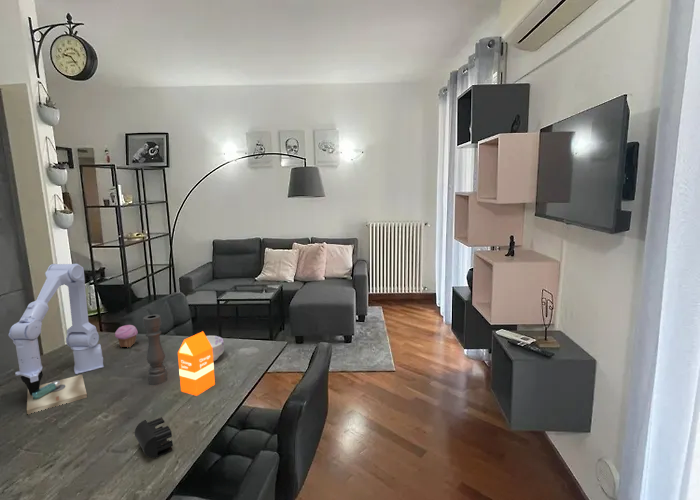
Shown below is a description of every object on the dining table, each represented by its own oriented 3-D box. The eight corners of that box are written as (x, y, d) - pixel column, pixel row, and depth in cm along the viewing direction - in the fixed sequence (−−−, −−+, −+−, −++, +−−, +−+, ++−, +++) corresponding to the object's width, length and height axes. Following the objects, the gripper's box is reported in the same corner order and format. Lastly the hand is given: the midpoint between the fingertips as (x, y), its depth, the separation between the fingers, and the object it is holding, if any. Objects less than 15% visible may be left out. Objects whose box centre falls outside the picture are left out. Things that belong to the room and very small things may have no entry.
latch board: (82, 378, 148) (82, 373, 148) (87, 397, 134) (86, 393, 134) (28, 392, 138) (27, 387, 138) (27, 414, 124) (26, 409, 124)
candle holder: (171, 378, 147) (165, 315, 143) (158, 386, 141) (151, 320, 137) (158, 375, 149) (152, 313, 145) (145, 383, 143) (138, 318, 139)
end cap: (135, 445, 109) (133, 423, 108) (162, 434, 113) (160, 413, 112) (145, 464, 101) (143, 440, 100) (173, 451, 106) (171, 429, 105)
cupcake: (112, 349, 174) (109, 328, 172) (126, 342, 182) (124, 321, 181) (129, 350, 172) (127, 329, 171) (143, 343, 181) (141, 322, 179)
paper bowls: (232, 356, 165) (231, 339, 164) (201, 371, 152) (200, 352, 151) (209, 349, 173) (207, 332, 172) (178, 362, 160) (176, 344, 159)
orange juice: (215, 384, 142) (211, 332, 139) (196, 396, 134) (192, 341, 131) (199, 380, 145) (195, 329, 142) (180, 391, 137) (175, 337, 134)
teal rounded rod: (57, 385, 139) (56, 380, 138) (62, 385, 138) (61, 380, 138) (30, 398, 130) (30, 393, 130) (36, 399, 129) (35, 393, 129)
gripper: (11, 354, 132) (17, 390, 134) (15, 367, 122) (22, 407, 124) (37, 347, 137) (42, 383, 139) (43, 360, 127) (49, 398, 129)
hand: (34, 394), depth 132 cm, fingers closed, pressing on teal rounded rod
